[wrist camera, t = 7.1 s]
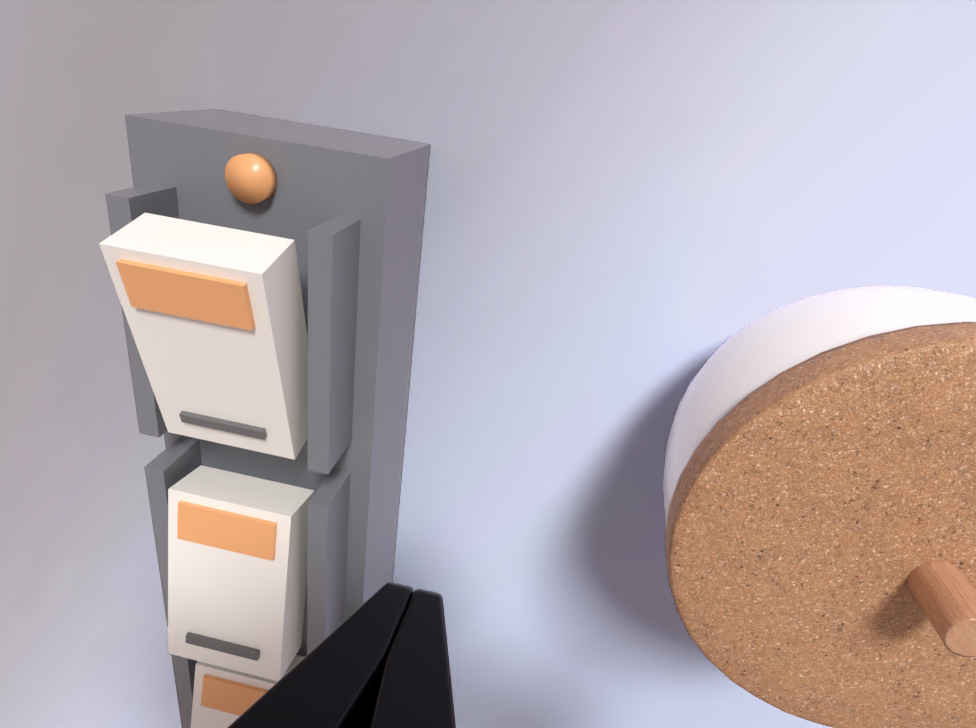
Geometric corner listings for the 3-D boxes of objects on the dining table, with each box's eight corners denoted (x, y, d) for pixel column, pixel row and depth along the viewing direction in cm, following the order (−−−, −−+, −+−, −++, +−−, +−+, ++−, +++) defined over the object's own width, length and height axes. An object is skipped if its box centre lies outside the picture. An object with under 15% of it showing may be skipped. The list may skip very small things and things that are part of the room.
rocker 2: (301, 645, 21) (277, 685, 19) (197, 619, 21) (164, 656, 19) (314, 490, 19) (288, 519, 17) (201, 465, 19) (165, 491, 17)
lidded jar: (787, 579, 23) (898, 868, 14) (579, 401, 21) (566, 612, 13) (1085, 401, 18) (1501, 672, 10) (849, 158, 17) (1109, 234, 8)
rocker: (318, 420, 18) (292, 463, 17) (199, 394, 18) (165, 435, 17) (294, 239, 14) (258, 277, 13) (144, 212, 14) (94, 246, 13)
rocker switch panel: (378, 748, 31) (334, 879, 26) (252, 715, 32) (184, 836, 27) (430, 144, 18) (362, 167, 13) (214, 109, 19) (68, 118, 14)
